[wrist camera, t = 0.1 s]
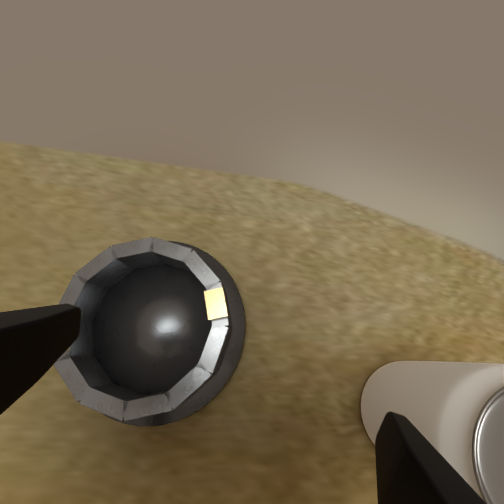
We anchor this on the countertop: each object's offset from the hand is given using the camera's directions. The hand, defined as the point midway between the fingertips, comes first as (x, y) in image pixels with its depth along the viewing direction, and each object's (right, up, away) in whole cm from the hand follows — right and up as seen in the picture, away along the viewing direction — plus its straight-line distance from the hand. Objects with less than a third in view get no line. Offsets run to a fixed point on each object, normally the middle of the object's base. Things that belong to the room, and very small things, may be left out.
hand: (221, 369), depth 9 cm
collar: (-6, -2, +15) cm, 17 cm away
